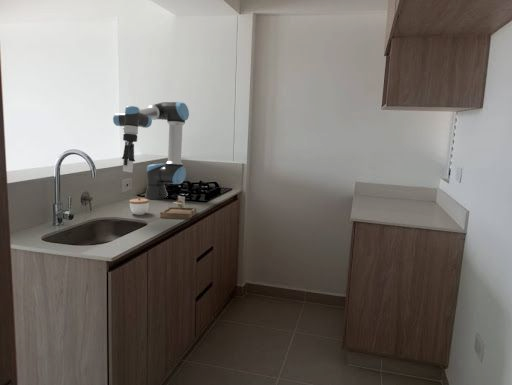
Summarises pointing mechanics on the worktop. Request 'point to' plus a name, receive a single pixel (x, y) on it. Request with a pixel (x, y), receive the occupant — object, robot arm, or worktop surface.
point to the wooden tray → (178, 212)
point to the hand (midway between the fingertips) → (127, 172)
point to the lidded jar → (139, 206)
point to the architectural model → (181, 201)
